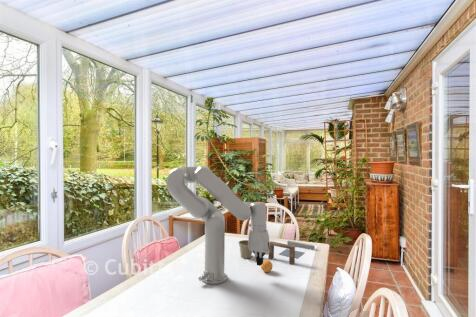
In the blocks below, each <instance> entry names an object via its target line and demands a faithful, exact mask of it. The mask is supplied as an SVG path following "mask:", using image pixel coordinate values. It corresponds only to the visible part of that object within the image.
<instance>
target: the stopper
mask: <svg viewBox="0 0 476 317" xmlns="http://www.w3.org/2000/svg"><path fill="white" fill-rule="evenodd" d="M286 244H287V245H292V246H295V248H301V249H305V250H310V249H311V251H315V248H316V247H315V246H316V245H313V244H307V243H303V242H297V241H294V240H293V241H292V240H287V243H286Z"/></svg>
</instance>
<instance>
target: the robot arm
mask: <svg viewBox="0 0 476 317" xmlns="http://www.w3.org/2000/svg"><path fill="white" fill-rule="evenodd" d="M187 184H198V185H199V186H201V187H202V188H203V189H204V190H205V191H207V192H208V193H209V194H210V195H211V196H212V197H213V198H214V199H216V200H217V202H219V203H220V204H221V205H222V206H223V207H224V208H225V209H226V210H227V211H228V212H229V213H231V214H232V215H233V216H234V217H235V218H236V219H237V220H240V221H242V222H243V221H244V222H245V221H248V220H249V219H250V223H249V224H248V226H249V227H250V229H249V232H248V238H247V239H248V248H249V250H250V251H251V252H252V254H254V257H255V258H256V259H255V260H256V266H259V267H261V265H262V264H263V261H264V256H265V255H266V256H269V254H270V252H269V250H270V242H271V241H270V235H269V230H268V229H267V206H266V203H265V202H264V201H255V202H254V201H252V202H250V201H243V200H241V198H239V197H238V196H237V195H236V194H235V193H234V192H233V191H232V190H231V188H230V187H229V185H228V184H226V183H225V182H224V181H223V179H221V178H219V176H217V175H216V173H214V172H212V170H211V169H210V167H208V166H204V165H200V166H178V167H175V168H173V169H172V170H170V171H169V173H168V176H167V178H166V188H167V191H168V193H169V195H170V196H171V197H172V198H173V199H174V201H176V202H177V203H178V204H179V205H180V207H182V208H183V209H185V211H186V212H188V214H190V215H191V216H192V217H193V218H195V219H201V220H202V221H203V222H204V271H203V274H201V276H199V277H198V280H199V281H200V282H204V283H205V284H208V285H209V284H210V285H219V284H223V283H225V282H226V281H227V280H228V274H227V273H226V272H225V250H226V249H225V248H226V247H225V245H226V244H225V241H226V240H225V237H226V235H225V234H226V232H225V231H226V217H225V215H224V214H223V213H222V211H221V210H219V208H218V207H216V206H215V205H214V204H213V203H212V202H211V201H210V200H209V199H208V198H206V197H204V196H198V195H197V194H196V193H195V192H194V191H193V190H192V189H191V188H189V187H188V186H187Z"/></svg>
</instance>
